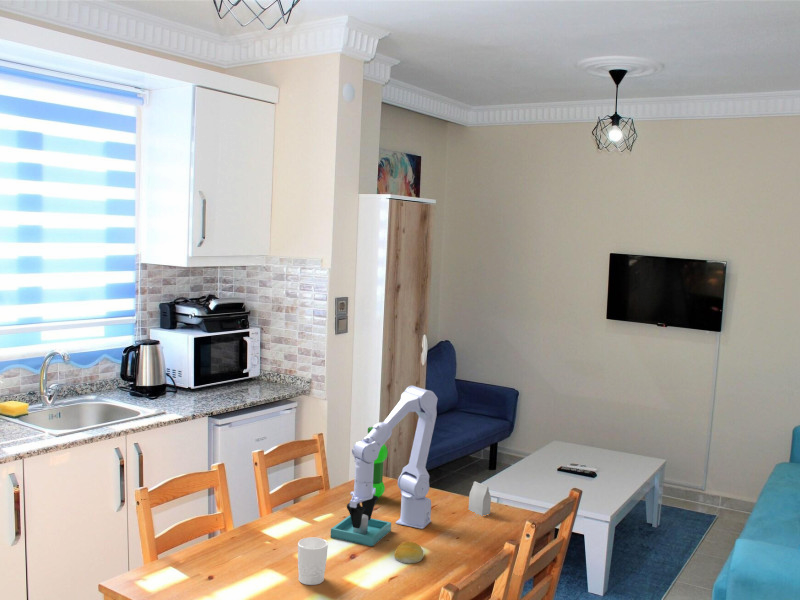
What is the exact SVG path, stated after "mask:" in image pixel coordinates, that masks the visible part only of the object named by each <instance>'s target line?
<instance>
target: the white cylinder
mask: <svg viewBox="0 0 800 600" xmlns="http://www.w3.org/2000/svg"><path fill="white" fill-rule="evenodd" d="M353 533H358V534H363V535H365V534H367V533H368V516H367V515H365V514H363V515H362V520H361V526H360V528H354V527H353Z"/></svg>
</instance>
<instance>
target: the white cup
mask: <svg viewBox="0 0 800 600" xmlns="http://www.w3.org/2000/svg"><path fill="white" fill-rule="evenodd" d="M328 546H329V543H328V541H327V540H326V539H324V538H320V537H311V536H310V537H304V538H301V539H300V540H299V541H298V542H297V568H298V569H297V570H298V581H299V582H300V583H301V584H303V585H306V586H307V585H308V586H315V585H319V584H321V583H322V582H324V581H325V572H326V566H327V556H328Z"/></svg>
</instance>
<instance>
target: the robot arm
mask: <svg viewBox="0 0 800 600" xmlns="http://www.w3.org/2000/svg"><path fill="white" fill-rule="evenodd" d="M438 400H439V399H438V397H437V395H436V394H435V392H434V391H433V390H428V389H426V388H421V387H417V386H415V385H409V386H407V387H406V389H405V390H404V391H403V392H402V393H401V395H400V400H399V401H398V402H397V404H396V405H395V406H394V408H393V409H392V410H391V412H390V413H389V415H387V417H386V418H385V419H384V421H381V422H377V423H375V424H374V425H373V426H372V427H374V428H373V429H372V430H371V431H370V432H369V434H368V433H367V435H366V436H365V437H363V439H362V440H359V441H357V442H356V443H355V444H354V445H353V449H351V454H352V457H354V465H355V468H354V483H353V484H354V486H353V490H352V491H350V496H351V500H349V503H346V509H347V511H348V513H349V515H350V516H351V520H352V525H353V527H354V528H360V526H361V520H362V515H363V514H365V515H367V516H368V520H370V519H371V518H372V515H373V512H374V508H375V506H376V504H377V502H378V500H379V498H378V497H377V496H374V495H375V491H376V488H373V473H374V461H375V460H376V459H377V458H378V455H379V451H380V449H381V447H382V446H383V445H384V444H386V443H387V441H388V440H389V439H390V438H391V437H392V435H393V434H392V433H393V432H392V431H393V429H394V428H395V426H397V425H398V424H399V423H400V422H401V421H402V420H403V419H404V418H405V417H406V416H407V415H408V414H409V413H416V414H417V416H418V419H417V423H416V429H415V432H414V433H415V434H414V437H413V442H412V448H411V452H410V456H409V461H408V464H407V465H405V466H404V467H402V470H401V473H400V475H399V476H398V479H397V487H398V489H399V490H400V494H401V500H400V502H401V503H400V516H399V517H400V518H399V519H398V520H396V521H395V524H397V525H401V526H407V527H410V528H411V527H412V528H416V529H422V530H423V529H424V528H425V527H427V526H428V525H429V524H430V523H431V522H432V519H431V514H432V499H430V498H429V497H426V496H427V495H428V493H429V491H430V474H429V472H428V471H427V468H426V466H427V461H428V457H429V452H430V447H431V443H432V437H433V433H434V429H435V424H436V419H437V417H438V416H437V413H438V412H437V405H438V404H437V403H438Z"/></svg>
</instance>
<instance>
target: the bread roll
mask: <svg viewBox="0 0 800 600" xmlns="http://www.w3.org/2000/svg"><path fill="white" fill-rule="evenodd" d="M395 549H396V550H395V552H394V555H393V557H394V559H395V560H396V561H399V562H400V563H403V564H416V563H419V562H421V561H422V560H423V559H424V550H423V548H422V547H421V546H420V545H419V544H418V543H416V542H413V541H403V542H402V543H401V544H399V545H398V546H397V547H396V548H395Z"/></svg>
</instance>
